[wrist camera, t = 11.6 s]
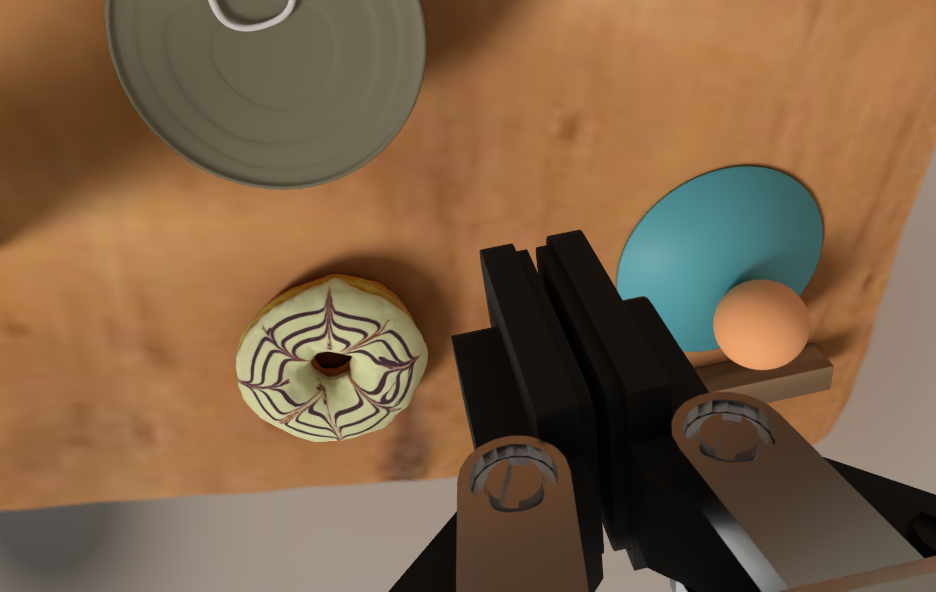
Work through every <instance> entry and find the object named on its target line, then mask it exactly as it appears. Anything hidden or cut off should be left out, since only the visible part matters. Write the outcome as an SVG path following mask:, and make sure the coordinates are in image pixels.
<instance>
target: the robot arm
mask: <svg viewBox="0 0 936 592" xmlns="http://www.w3.org/2000/svg"><path fill="white" fill-rule="evenodd" d="M536 259H537V268H538V273H537V270H536V268H535V266H534V264H533V261H532V259H531V257H530V255H529V252H528V250H521V251H516V250H515V247H514V245H513V244H507V245H502V246H497V247H492V248H487V249H482V250H480V260H481V266H482V273H483V279H484V286H485V292H486V298H487V305H488V311H489V317H490V324H491V328H487V329H482V330H477V331H473V332H468V333H463V334H458V335H453V336H451V339H452V344H453V350H454V355H455V360H456V365H457V370H458V375H459V380H460V385H461V390H462V395H463V400H464V404H465V409H466V414H467V418H468V423H469V427H470V432H471V436H472V441H473V445H474V450H475V451H474V452H473V453H471V454H470V455H469V456H468V457H467V459H466V460H465V462H464V463H463V465H462V467H461V468H460V472H459V476H458V481H457V512H456V513H455V514H454V516H453V517H452V518H451V519H450V520H449V521H448V522H447V524H446V525H445V526H444V527H443V528H442V529H441V531H440V532H439V533H438V534H437V535H436V536H435V538H434V539H433V540H432V541H431V542H430V543H429V545H428V546H427V547H426V548H425V550H424V551H423V552H422V553H421V554H420V555H419V556H418V558H417V559H416V560H415V561H414V562H413V563H412V565H411V566H410V567H409V568H408V569H407V570H406V572H405V573H404V574H403V575H402V576H401V578H400V579H399V580H398V581H397V582H396V583H395V585H394V586H393V587H392V588H391V589H390V591H389V592H595V590H596V589H597V587H598V586H599V584H600V583H601V581H602V579H603V568H602V567H603V566H602V554H603V553H604V543H603V528H602V527H603V526H602V523H603V525H604V528H605V531H606V533H607V536H608V539H609V541H610V543H611V546H612V548H613V550H614V551H618V550H622V549H626V551H627V553H628V556H629V559H630V561H631V564H632V566H633V569H634V570H639V569H643V568H649V569H651V570H653V571H656V572H658V573H660V574H662V575H664V576H666V577H668V578H670V587H671V589H672V591H673V592H936V495H935V494H932V493H929V492H926V491H923V490H920V489H917V488H914V487H911V486H908V485H905V484H902V483H899V482H896V481H893V480H890V479H887V478H884V477H881V476H878V475H875V474H872V473H869V472H866V471H864V470H861V469H857V468H855V467H852V466H848V465H846V464H843V463H840V462H837V461H834V460H831V459H828V458H825V457H822V456H821V455H820V454H819V453H818V452H817V451H816V450H815V449H814V448H813V447H812V446H811V445H810V444H809V443H808V442H807V441H806V440H805V439H804V438H803V437H802V436H801V435H800V434H799V433H798V432H797V431H796V430H795V429H794V428H793V427H792V426H791V425H790V424H789V423H788V422H787V421H786V420H785V419H784V418H783V417H782V416H781V415H780V414H779V413H778V412H777V411H776V410H774V409H773V408H772V407H770V406H769V405H768V404H766V403H765V402H763V401H760V400H758V399H756V398H754V397H751V396H748V395H744V394H739V393H734V392H712V393H709V391H708V390H707V388H706V386H705V385H704V383H703V382H702V380H701V379H700V377H699V376H698V374H697V373H696V371H695V369H694V368H693V366H692V365H691V363H690V362H689V360H688V359H687V357H686V355H685V354H684V352H683V351H682V349H681V348H680V346H679V345H678V343H677V342H676V340H675V338H674V337H673V335H672V334H671V332H670V331H669V329H668V328H667V326H666V324H665V323H664V321H663V320H662V318H661V317H660V315H659V314H658V312H657V311H656V309H655V307H654V306H653V304H652V303H651V302H650V300H649V299H648V298H647V297H645V296H641V297H636V298H631V299H626V300H622V298H621V296H620V295H619V293H618V291H617V290H616V288H615V286H614V285H613V283H612V281H611V279H610V278H609V276H608V274H607V273H606V271H605V269H604V268H603V266H602V264H601V263H600V261H599V259H598V257H597V256H596V254H595V252H594V251H593V249H592V247H591V246H590V244H589V242H588V240H587V239H586V237H585V235H584V234H583V232H582V231H581V230H576V231H571V232H566V233H561V234H556V235H551V236H547V239H546V246H541V247H537V248H536Z"/></svg>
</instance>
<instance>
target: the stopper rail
mask: <svg viewBox="0 0 936 592" xmlns="http://www.w3.org/2000/svg"><path fill="white" fill-rule="evenodd" d="M833 369H834V366H833V365H832V363H831V362H830V361H829V360H828V359H827V358H826V357H825V356H824V354H823V353H822V352H821V351H820V350H819V349H818V348H817V347H816V346H815V344H814V343H813V344H808V345H805V347H804V348H803V350H802V351H801V352H800V354H799V355H798V356H797V357H796V358H795V359H793V360H792V361H791V362H789V363H787V364H786V365H784V366H781V367H778V368H775V369H770V370H755V369H750V368H746V367H744V366H741V365H739V364H737V363H735V362H734V361H729V362H724V363H719V364H715V365H710V366H705V367H701V368H696V369H695V371H696V373H697V374H698V376H699V377H700V379H701V380H702V382H703V383H704V385H705V386H706V388H707V390H708V391H709V393H712V392H734V393H739V394H744V395H748V396H751V397H754V398H756V399H758V400H760V401H763V402H765V403H769V402H773V401H778V400H782V399H787V398H792V397H796V396H801V395H806V394H810V393H815V392H819V391H824V390H829V389H830V387H831V381H832V375H833Z"/></svg>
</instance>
